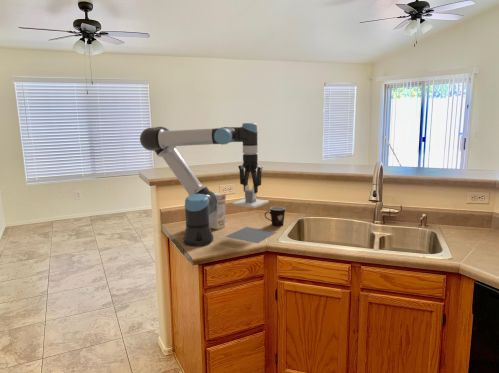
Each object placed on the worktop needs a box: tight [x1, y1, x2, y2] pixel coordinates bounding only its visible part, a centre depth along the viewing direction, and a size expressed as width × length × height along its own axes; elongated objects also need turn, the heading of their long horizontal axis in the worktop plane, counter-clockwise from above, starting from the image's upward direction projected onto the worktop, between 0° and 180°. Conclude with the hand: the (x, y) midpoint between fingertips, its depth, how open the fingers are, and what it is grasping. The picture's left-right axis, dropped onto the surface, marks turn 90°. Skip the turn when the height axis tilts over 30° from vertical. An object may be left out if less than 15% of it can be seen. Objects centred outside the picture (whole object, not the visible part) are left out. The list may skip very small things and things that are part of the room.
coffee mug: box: [264, 206, 286, 227], centre depth 210 cm, size 12×9×10 cm
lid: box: [231, 188, 270, 209], centre depth 190 cm, size 14×14×7 cm
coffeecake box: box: [209, 191, 226, 231], centre depth 209 cm, size 15×7×20 cm, turn 50°
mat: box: [225, 226, 278, 244], centre depth 194 cm, size 20×20×1 cm
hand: (250, 198), depth 191 cm, fingers closed on lid, 4 cm apart
